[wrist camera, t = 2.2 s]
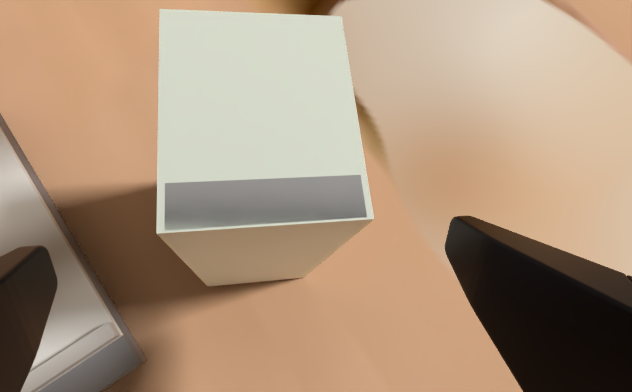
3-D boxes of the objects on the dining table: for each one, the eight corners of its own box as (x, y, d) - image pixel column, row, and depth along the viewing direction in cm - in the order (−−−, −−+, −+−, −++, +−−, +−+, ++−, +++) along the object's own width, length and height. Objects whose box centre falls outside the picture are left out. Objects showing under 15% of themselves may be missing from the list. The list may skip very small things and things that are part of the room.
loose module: (303, 277, 19) (373, 219, 8) (207, 286, 18) (155, 233, 8) (292, 170, 20) (341, 13, 10) (204, 174, 19) (159, 5, 9)
